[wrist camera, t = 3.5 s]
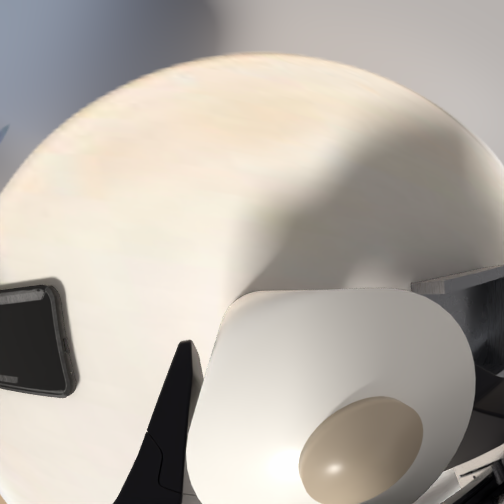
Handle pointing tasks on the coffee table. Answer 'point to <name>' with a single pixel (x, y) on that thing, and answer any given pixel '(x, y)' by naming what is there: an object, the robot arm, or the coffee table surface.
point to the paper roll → (330, 399)
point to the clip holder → (474, 310)
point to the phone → (34, 343)
